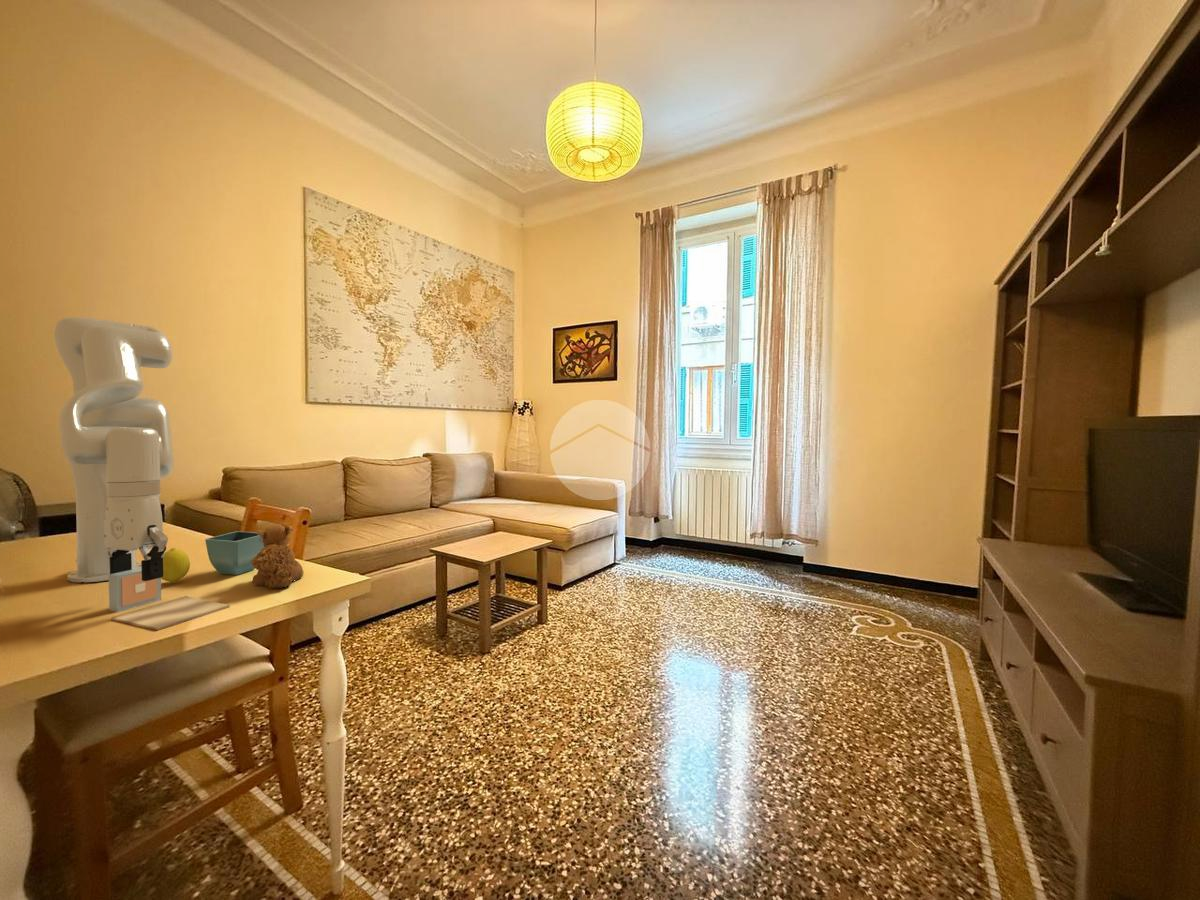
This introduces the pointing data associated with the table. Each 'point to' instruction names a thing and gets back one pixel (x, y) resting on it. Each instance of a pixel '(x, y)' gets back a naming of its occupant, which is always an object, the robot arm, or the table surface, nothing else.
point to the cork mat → (170, 612)
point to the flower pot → (234, 551)
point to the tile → (132, 590)
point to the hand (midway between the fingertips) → (136, 576)
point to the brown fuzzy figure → (276, 559)
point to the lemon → (175, 565)
